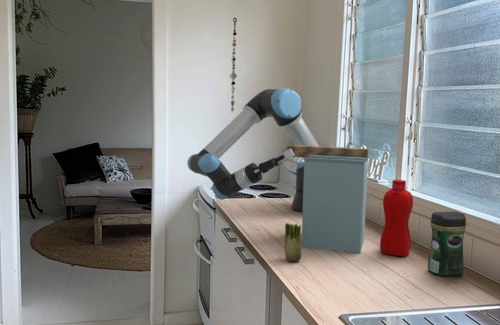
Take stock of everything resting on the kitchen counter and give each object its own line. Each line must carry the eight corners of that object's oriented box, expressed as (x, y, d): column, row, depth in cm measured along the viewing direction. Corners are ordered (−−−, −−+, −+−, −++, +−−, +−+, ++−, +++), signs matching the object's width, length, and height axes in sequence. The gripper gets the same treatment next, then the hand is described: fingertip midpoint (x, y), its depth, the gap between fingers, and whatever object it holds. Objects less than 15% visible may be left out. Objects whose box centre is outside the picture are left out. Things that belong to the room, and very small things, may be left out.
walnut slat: (286, 156, 172) (286, 145, 172) (289, 155, 176) (289, 145, 176) (367, 160, 164) (367, 149, 163) (367, 159, 167) (368, 148, 167)
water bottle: (412, 250, 161) (417, 178, 158) (405, 258, 152) (410, 183, 148) (386, 245, 166) (390, 176, 163) (377, 253, 156) (381, 180, 153)
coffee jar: (450, 267, 145) (455, 208, 142) (467, 276, 137) (472, 214, 135) (422, 268, 143) (426, 209, 140) (438, 278, 135) (442, 215, 133)
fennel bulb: (282, 258, 150) (283, 222, 148) (295, 257, 151) (297, 221, 150) (289, 264, 144) (291, 226, 143) (304, 262, 146) (305, 225, 144)
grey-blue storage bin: (310, 233, 179) (313, 152, 176) (364, 239, 173) (368, 155, 170) (301, 246, 162) (304, 157, 159) (360, 253, 156) (364, 161, 153)
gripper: (262, 179, 191) (308, 155, 184) (243, 189, 168) (293, 163, 161) (254, 163, 192) (299, 139, 185) (233, 171, 168) (283, 143, 161)
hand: (296, 150), depth 173 cm, fingers open, 13 cm apart
